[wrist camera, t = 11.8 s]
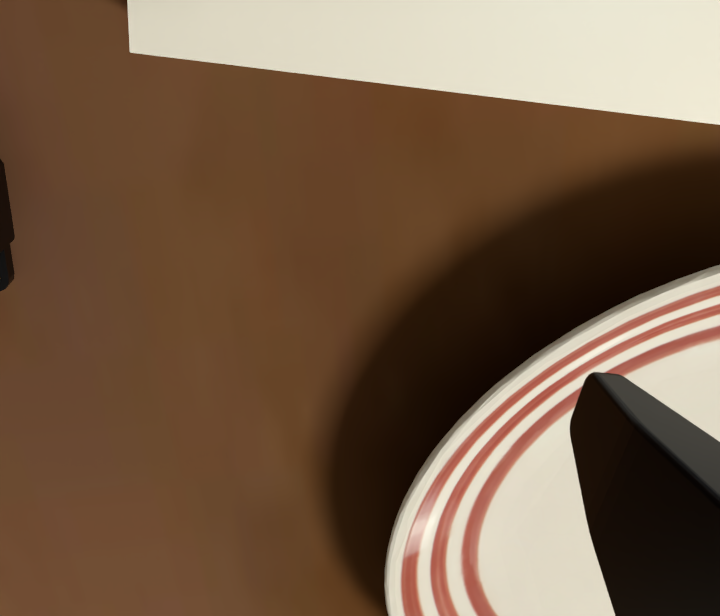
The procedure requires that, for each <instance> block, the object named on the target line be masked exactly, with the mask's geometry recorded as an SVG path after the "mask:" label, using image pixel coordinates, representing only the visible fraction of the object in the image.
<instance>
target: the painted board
mask: <svg viewBox="0 0 720 616" xmlns="http://www.w3.org/2000/svg"><path fill="white" fill-rule="evenodd" d="M127 4H128V24H129V45H130V53H138V54H147V55H155V56H163V57H171V58H179V59H187V60H196V61H204V62H212V63H220V64H228V65H236V66H245V67H253V68H261V69H269V70H277V71H285V72H294V73H302V74H310V75H318V76H326V77H334V78H343V79H351V80H359V81H367V82H375V83H383V84H392V85H400V86H408V87H416V88H424V89H432V90H441V91H449V92H457V93H465V94H473V95H481V96H490V97H498V98H506V99H514V100H522V101H530V102H539V103H547V104H555V105H563V106H571V107H579V108H587V109H596V110H604V111H612V112H620V113H628V114H636V115H645V116H653V117H661V118H669V119H677V120H685V121H694V122H702V123H710V124H718V125H720V0H127Z"/></svg>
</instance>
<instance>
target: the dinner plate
mask: <svg viewBox="0 0 720 616" xmlns="http://www.w3.org/2000/svg"><path fill="white" fill-rule="evenodd" d="M593 372H602V373H613V374H619V375H622V376H624V377H625V378H627V379H628V380H629V381H631V382H632V383H634V384H635V385H637V386H638V387H640V388H641V389H643V390H644V391H646V392H647V393H649V394H650V395H652V396H653V397H655V398H656V399H658V400H659V401H660V402H662V403H663V404H665V405H666V406H668V407H669V408H671V409H672V410H674V411H675V412H677V413H678V414H680V415H681V416H683V417H684V418H686V419H687V420H689V421H690V422H691V423H693V424H694V425H696V426H697V427H699V428H700V429H702V430H703V431H705V432H706V433H708V434H709V435H711V436H712V437H714V438H715V439H717V440H718V441H719V442H720V265H717V266H714V267H710V268H708V269H705V270H702V271H699V272H696V273H693V274H691V275H688V276H685V277H682V278H679V279H676V280H674V281H671V282H669V283H667V284H664V285H662V286H659V287H657V288H654V289H652V290H650V291H647V292H645V293H642V294H640V295H637V296H635V297H633V298H631V299H629V300H627V301H625V302H623V303H621V304H619V305H617V306H615V307H613V308H611V309H609V310H607V311H605V312H603V313H602V314H600V315H598V316H596V317H594V318H592V319H591V320H589V321H587V322H585V323H583V324H581V325H580V326H578V327H576V328H574V329H573V330H571V331H570V332H568V333H567V334H565V335H563V336H562V337H560V338H559V339H557V340H556V341H554V342H553V343H551V344H549V345H548V346H546V347H545V348H543V349H542V350H540V351H539V352H537V353H536V354H534V355H533V356H531V357H530V358H529V359H527V360H526V361H525V362H523V363H522V364H521V365H520V366H518V367H517V368H516V369H514V370H513V371H512V372H510V373H509V374H508V375H506V376H505V377H504V378H503V379H501V380H500V381H499V382H498V383H496V384H495V385H494V386H493V387H492V388H491V389H490V390H488V391H487V392H486V393H485V394H484V395H483V396H482V397H481V398H480V399H479V400H478V401H477V402H476V403H475V404H474V405H473V406H472V407H471V408H470V409H469V410H468V411H467V412H466V413H465V414H464V415H463V416H462V417H461V418H460V419H459V420H458V421H457V422H456V423H455V425H454V426H453V427H452V428H451V429H450V430H449V431H448V433H447V434H446V435H445V436H444V437H443V438H442V440H441V441H440V442H439V444H438V445H437V446H436V447H435V449H434V450H433V451H432V452H431V454H430V455H429V457H428V458H427V460H426V461H425V463H424V464H423V466H422V467H421V469H420V470H419V472H418V473H417V475H416V477H415V479H414V481H413V483H412V484H411V486H410V488H409V490H408V492H407V494H406V496H405V498H404V500H403V502H402V504H401V507H400V509H399V512H398V514H397V517H396V520H395V523H394V526H393V529H392V532H391V537H390V541H389V545H388V549H387V557H386V564H385V580H384V587H385V600H386V607H387V612H388V616H615V613H614V610H613V607H612V604H611V600H610V597H609V594H608V591H607V588H606V585H605V582H604V578H603V575H602V572H601V569H600V566H599V563H598V560H597V556H596V553H595V550H594V547H593V543H592V540H591V536H590V533H589V529H588V524H587V520H586V515H585V510H584V505H583V500H582V495H581V489H580V484H579V479H578V474H577V469H576V464H575V458H574V453H573V448H572V443H571V438H570V421H571V417H572V414H573V411H574V408H575V406H576V403H577V400H578V397H579V395H580V392H581V389H582V386H583V383H584V381H585V379H586V377H587V376H588V375H589V374H591V373H593Z"/></svg>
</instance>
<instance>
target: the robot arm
mask: <svg viewBox="0 0 720 616" xmlns="http://www.w3.org/2000/svg"><path fill="white" fill-rule="evenodd" d="M14 237H15V236H14V229H13V222H12V216H11V209H10V202H9V196H8V189H7V182H6V176H5V169H4V163H3V162H2V161H1V159H0V278H1V279H0V291H2V290H4V289H6V288H7V287H8V285H9V284H10V283H11V282H12V281H13V279H14V268H13V262H12V255H11V249H10V243H11V242H12V241H13V240H14ZM570 438H571V443H572V448H573V453H574V458H575V464H576V469H577V474H578V479H579V484H580V489H581V495H582V500H583V505H584V510H585V515H586V520H587V524H588V529H589V533H590V536H591V540H592V543H593V547H594V550H595V553H596V556H597V560H598V563H599V566H600V569H601V572H602V575H603V578H604V582H605V585H606V588H607V591H608V594H609V597H610V600H611V604H612V607H613V610H614V613H615V616H720V442H719V441H718V440H717V439H715V438H714V437H712V436H711V435H709V434H708V433H706V432H705V431H703V430H702V429H700V428H699V427H697V426H696V425H694V424H693V423H691V422H690V421H689V420H687V419H686V418H684V417H683V416H681V415H680V414H678V413H677V412H675V411H674V410H672V409H671V408H669V407H668V406H666V405H665V404H663V403H662V402H660V401H659V400H658V399H656V398H655V397H653V396H652V395H650V394H649V393H647V392H646V391H644V390H643V389H641V388H640V387H638V386H637V385H635V384H634V383H632V382H631V381H629V380H628V379H627V378H625V377H624V376H622V375H619V374H613V373H602V372H593V373H591V374H589V375H588V376H587V377H586V379H585V381H584V383H583V386H582V389H581V392H580V395H579V397H578V400H577V403H576V406H575V408H574V411H573V414H572V417H571V421H570Z"/></svg>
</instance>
